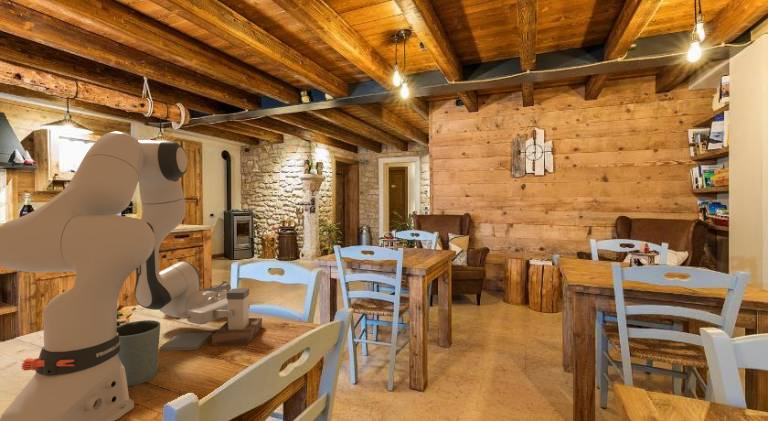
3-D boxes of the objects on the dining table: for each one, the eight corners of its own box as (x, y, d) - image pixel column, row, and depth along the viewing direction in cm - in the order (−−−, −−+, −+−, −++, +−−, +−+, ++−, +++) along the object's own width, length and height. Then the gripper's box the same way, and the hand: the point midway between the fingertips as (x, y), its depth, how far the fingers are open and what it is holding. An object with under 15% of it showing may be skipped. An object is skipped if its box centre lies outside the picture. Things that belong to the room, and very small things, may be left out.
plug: (244, 338, 108) (243, 292, 108) (227, 338, 108) (226, 292, 107) (249, 332, 113) (249, 288, 113) (233, 332, 113) (232, 288, 112)
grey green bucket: (152, 363, 92) (151, 317, 92) (168, 376, 86) (167, 326, 85) (103, 379, 84) (102, 328, 84) (117, 394, 78) (115, 339, 77)
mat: (196, 349, 100) (196, 346, 100) (159, 350, 100) (159, 347, 100) (212, 336, 110) (212, 332, 110) (178, 336, 110) (178, 333, 110)
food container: (217, 317, 127) (216, 289, 127) (202, 316, 129) (201, 288, 128) (238, 307, 139) (237, 281, 139) (224, 306, 141) (223, 280, 140)
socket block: (247, 344, 104) (247, 334, 104) (212, 345, 103) (212, 334, 103) (261, 327, 118) (261, 318, 118) (230, 327, 117) (230, 318, 117)
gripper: (176, 305, 104) (215, 310, 100) (226, 288, 124) (261, 291, 120) (176, 327, 104) (215, 332, 100) (227, 306, 124) (261, 310, 120)
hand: (240, 310), depth 110 cm, fingers closed on plug, 6 cm apart
